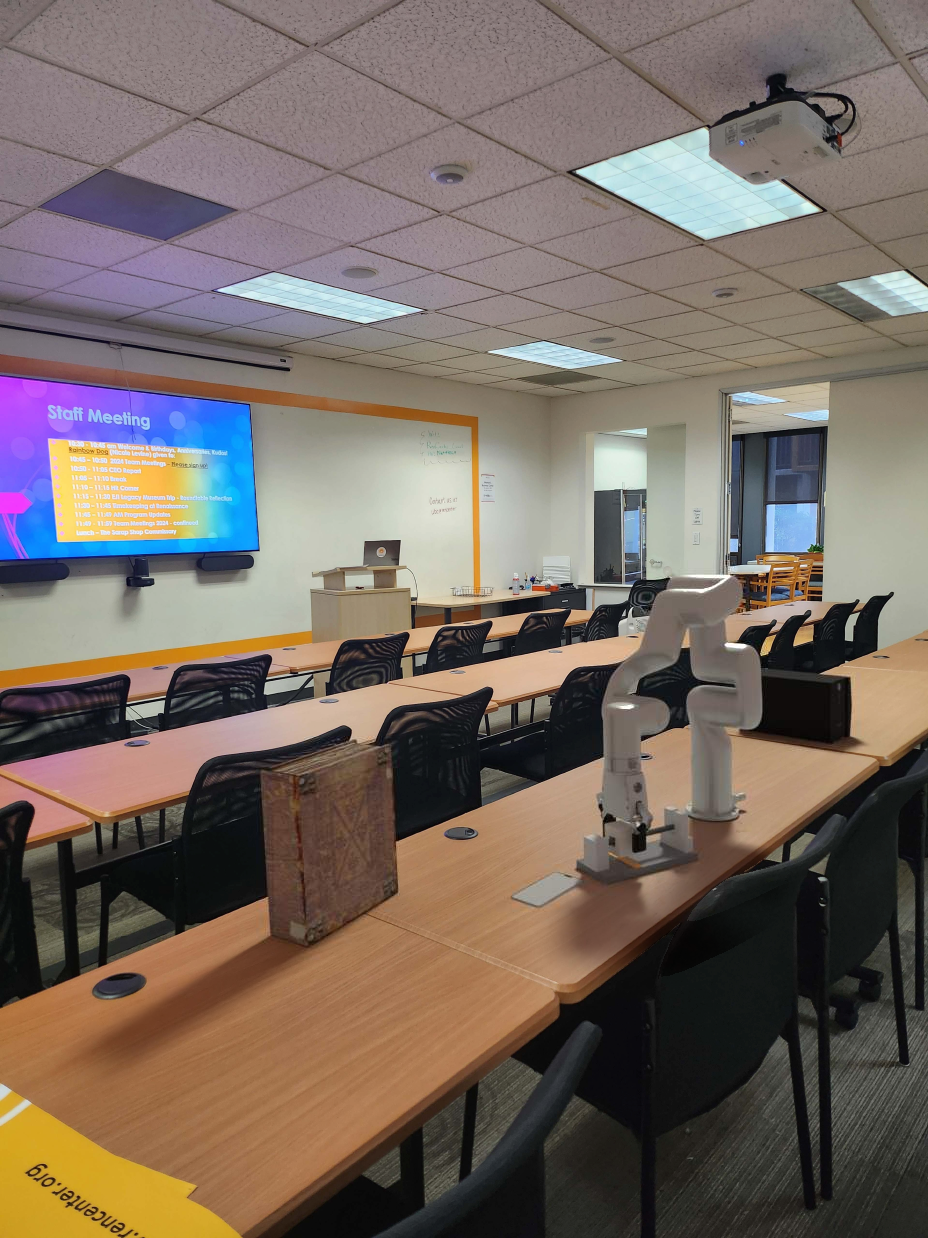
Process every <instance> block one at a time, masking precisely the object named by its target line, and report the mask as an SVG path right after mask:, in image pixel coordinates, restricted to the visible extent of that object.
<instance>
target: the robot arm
mask: <svg viewBox="0 0 928 1238" xmlns="http://www.w3.org/2000/svg"><path fill="white" fill-rule="evenodd" d="M743 596H744V591H743V585H742V583H741V581H740V580H739V579H738V577H735V576H733V575H731V574H682V575H677V576H674V577H672V578H670V579H669V580H668V582H667V584H666V589H665V590H662V591H660V592H658V593H657V595H656V596H655V598H654V601H653V604H652V606H651V610H650V613H649V617H648V620H647V623H646V625H645V630H644V634H643V637H642V639H641V643H640V646H639V648H637V650H636V651H634V652H633V653H632V654H631V655H630V656H629V657H627V658H626V659H625V660H623V662H622V663H621V664H620V665H619V666H618V667H617V668H616V670H615V671H614V672H613V673H612V674H611V676H610V678H609V680H608V683H607V687H606V689H605V694H604V695H603V700H602V704H601V717H602V723H603V724H602V728H603V729H602V730H603V732H602V733H603V736H602V737H603V771H602V780H601V792H599V793H597V794H595V795H596V801H597V804H598V805H597V807H598V809H599V811H600V818H601V819H602V820H601V821H602V837H603V838H605V824H606V823H610V822H615V821H617V818H618V819H619V820H624V821H626V822H629V823H630V825H631V827H632V829H633V831H634V833H632V852H633V853H638V852H642V851H645V850H646V843H647V836H646V832H648V830H650V829H651V825H652V822H653V821H654V816H653V814H652V813H651V812H650V811H649V802H648V801H649V800H648V791H647V783H646V782H647V781H646V778H645V774H644V772H643V771H642V740H641V738H642V736H646V735H654V734H658V733H660V732H662V731H663V730H665V729H666V727H667V726H668V725H669V722H670V720H671V712H670V711H671V710H670V708H669V707H668V704H666V703H665V701H663V700H661V699H659V698H655V697H648V696H642V695H641V696H640V695H633V694H632V695H631V694H629V692H630V690H631V689H632V687H633V686H634V684H635V683H636V682H637V681H639V680H640V679H641V678H644V677H645V676H647V675H649V674H652V673H655V672H658V671H660V670H663V669H666V668H668V667H670V666H672V665H674V664H676V663H677V661H678V660H679V657H680V653H681V650H682V646H683V645H684V644H683V643H684V640H685V637H686V633H687V630H688V636H689V639H688V640H689V656H690V666H691V667H690V668H691V673H692V675H693V676H694V677H695V678H696V679H697V680H701V681H704V682H705V681H706V682H713V683H721V684H723V683H724V684H731V685H732V684H733V685H734V686H735V687H729V686H720V685H710V684H709V685H708V684H707V685H705V684H703V685H698V686H696V687H693V688H692V689H691V690H690V691H689V692H688V694H687V696H686V704H685V705H686V711H687V716H688V721H689V728H690V729H689V730H690V744H691V745H690V747H691V748H690V749H691V753H690V754H691V755H690V758H691V759H690V761H691V762H690V763H691V766H690V767H691V769H690V770H691V802H689V803H687V804H686V805H685V806H684V807H685V808H684V810H685V812H687V813H688V816H689V817H691V818H694V819H699V820H702V821H707V822H725V821H731V820H734V819H736V818H737V817H738V816H739V815H740V812H739V811H740V810H739V807H737V806H736V804H737V803H739V802H743V801H746V799H747V795H746V793H745V792H740V793H734V791H733V771H732V770H733V758H732V757H733V756H732V755H733V747H732V746H733V744H732V741H731V737H730V735H729V733H728V732H727V730H726V728H730V729H737V730H740V729H753V728H755V727H757V726H758V724H759V723H760V721H761V717H762V685H761V668H762V667H761V660H760V655H759V654H758V652H757V650H756V649H755V648H754V647H753V646H752V645H750V644H745V643H736V642H735V643H734V642H733V643H731V642H729V641H728V640H727V639H728V638H727V629H726V621H725V620H726V619H727V618H729V616H731V615H732V614H733V613H735V612H736V611H737V609H739V607H740V605H741V603H742V600H743ZM636 823H639V824H640V825H639V826H638V827H637V824H636Z"/></svg>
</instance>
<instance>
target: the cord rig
mask: <svg viewBox="0 0 928 1238" xmlns="http://www.w3.org/2000/svg"><path fill="white" fill-rule="evenodd" d="M663 810H664V811H663V813H664V815H663V816H664V818H663V819H664V825H662V826H659V827H654V828H649V829H648V832H646V837H649V836H654V835H657V834H660V835H659V837H660V838H659V839H657V840H652V841H648V842H646V850H645V851H643V852H641V853H637V854H633V855H629V856H625V857H621V858H619V857H618V856H616V855H614V854H612V853H610V852H609V845H613V844H615V838H612V839H608V840H607V839H605V838H604V837H603V836H602V835H600V834H597V833H593V834H588V835H584V836H583V858H581V859H576V868H577V869H579V870H580V871H582V872H583V873H585V874H587V875H589V876H591V877H592V878H594V879H595V880H598V882H601V883H603V884H604V885H607V884H612V883H615V882H619V881H623V880H627V879H631V878H634V877H637V876H642V875H646V874H648V873H653V872H656V871H660V870H664V869H668V868H671V867H676V866H679V865H683V864H687V863H689V862H695V861H698V860H699V852H697V851H695V849H694V837H692V836H690V835H689V815H688V813H687V812H686V811H684V810H682V809H680V810H678V808H677V807H674V806H672V805H670V806H666V807H664V808H663Z"/></svg>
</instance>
